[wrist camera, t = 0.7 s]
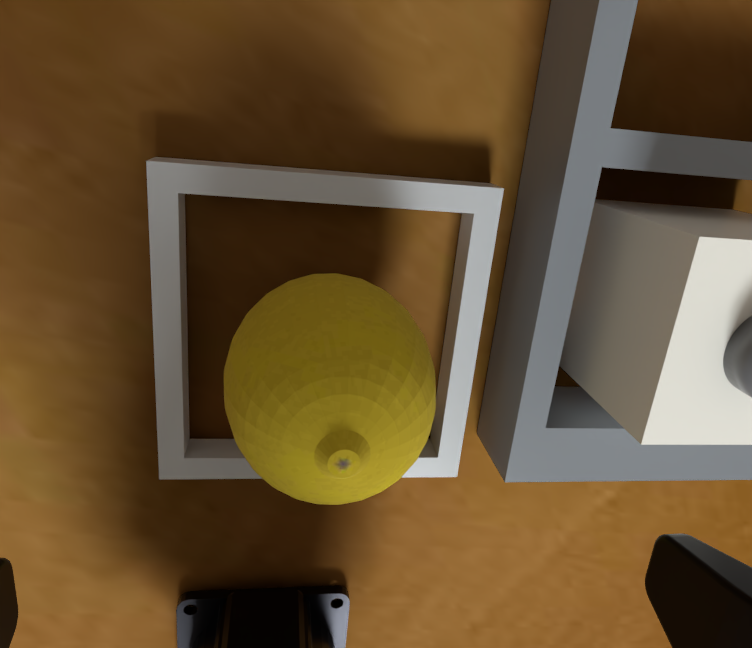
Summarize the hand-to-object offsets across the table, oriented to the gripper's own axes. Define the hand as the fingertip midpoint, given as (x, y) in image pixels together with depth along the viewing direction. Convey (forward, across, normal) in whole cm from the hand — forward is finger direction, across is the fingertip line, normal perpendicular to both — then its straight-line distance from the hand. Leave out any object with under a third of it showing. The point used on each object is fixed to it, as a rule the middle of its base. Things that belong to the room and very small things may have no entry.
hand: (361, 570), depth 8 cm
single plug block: (+12, -11, -1) cm, 16 cm away
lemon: (+12, 0, +1) cm, 12 cm away
